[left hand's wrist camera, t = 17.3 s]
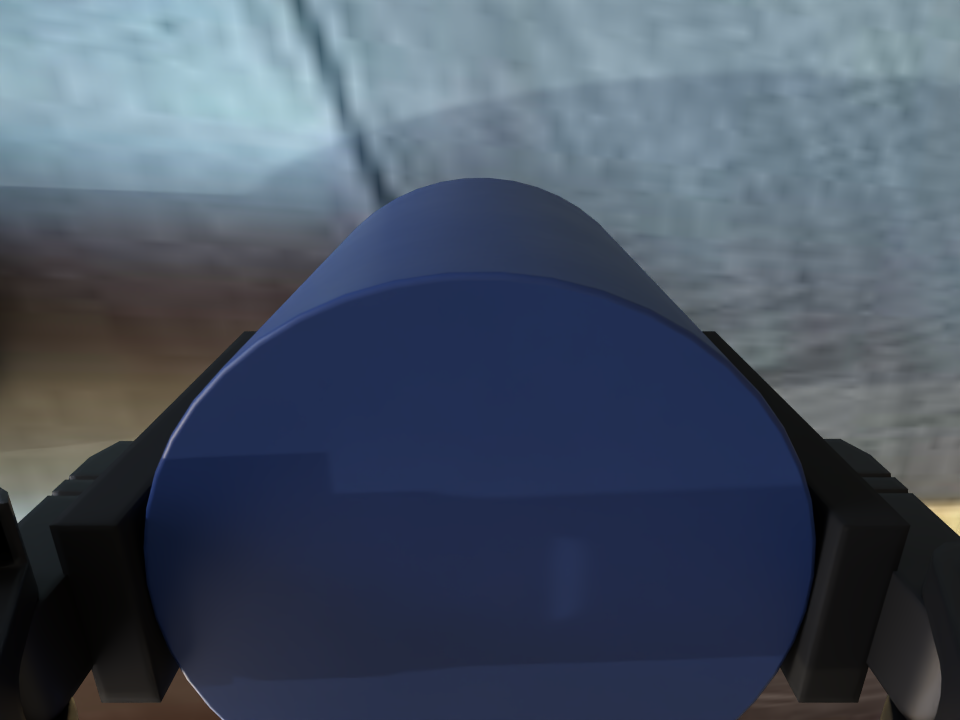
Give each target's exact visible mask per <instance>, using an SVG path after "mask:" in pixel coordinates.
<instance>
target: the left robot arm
mask: <svg viewBox="0 0 960 720" xmlns="http://www.w3.org/2000/svg"><path fill="white" fill-rule="evenodd" d="M702 332H703V333H704V334H705V335H706V337H707V338H708V339H709V340H710V341H711V342H712V343H713V344H714V345H715V346H716V347H717V348H718V349H719V350H720V351H721V352H722V353H723V354H724V355H725V356H726V357H727V359H728V360H729V361H730V362H731V363H732V364H733V365H734V366H735V367H736V368H737V369H738V370H739V371H740V372H741V373H742V374H743V375H744V376H745V377H746V378H747V379H748V381H749V382H750V383H751V384H752V385H753V386H754V387H755V388H756V389H757V390H758V391H759V392H760V393H761V395H762V396H763V398H764V399H765V400H766V402H767V403H768V405H769V406H770V408H771V409H772V411H773V412H774V413H775V415H776V416H777V418H778V419H779V421H780V422H781V423H782V425H783V426H784V428H785V430H786V432H787V434H788V436H789V439H790V441H791V443H792V445H793V447H794V449H795V451H796V453H797V455H798V458H799V460H800V462H801V464H802V468H803V471H804V475H805V478H806V482H807V485H808V489H809V492H810V496H811V499H812V507H813V516H814V525H815V534H816V549H815V567H814V578H813V583H812V587H811V592H810V596H809V601H808V605H807V610H806V613H805V615H804V618H803V620H802V623H801V626H800V628H799V631H798V633H797V636H796V638H795V641H794V643H793V645H792V647H791V649H790V650H789V652H788V654H787V656H786V658H785V659H784V661H783V663H782V665H781V666H780V668H781V670H782V672H783V673H784V675H785V677H786V679H787V681H788V683H789V685H790V687H791V689H792V690H793V692H794V694H795V696H796V698H797V700H798V702H808V703H858V701H859V697H860V694H861V691H862V687H863V684H864V680H865V677H866V674H867V670H868V667H870V669H871V670H872V672H873V673H874V675H875V676H876V678H877V679H878V681H879V682H880V684H881V685H882V686H883V688H884V689H885V691H886V692H887V694H888V696H887V699H886V702H885V705H884V708H883V712H882V715H881V718H880V720H960V536H959V535H958V534H956V533H955V532H954V531H953V530H952V529H951V528H950V527H949V526H948V525H947V524H946V523H944V522H943V521H942V520H941V519H940V518H939V517H938V516H937V515H936V514H935V513H933V512H932V511H931V510H930V509H929V508H928V507H927V506H926V505H925V504H924V503H923V502H921V501H920V500H919V499H918V498H917V497H916V496H915V495H914V494H913V493H908V489H907V488H906V487H905V486H904V485H903V484H902V483H901V482H899V481H898V480H897V479H896V478H895V477H891V473H890V472H889V471H887V470H886V469H885V468H884V467H883V466H882V465H881V464H880V463H879V462H878V461H876V460H875V459H874V458H873V457H872V456H871V455H870V454H868V453H866V452H864V451H862V450H860V449H858V448H856V447H855V446H853V445H851V444H849V443H847V442H845V441H843V440H841V439H823V438H822V437H821V436H820V435H819V434H818V433H817V432H816V431H815V430H814V429H813V428H812V427H811V426H810V425H809V424H808V423H807V422H806V421H805V420H804V419H803V418H802V417H801V416H800V415H799V414H798V413H797V412H796V411H795V410H794V409H793V408H792V407H791V406H790V405H789V404H788V403H787V402H786V401H785V400H784V399H783V398H782V397H781V396H779V395H778V394H777V393H776V392H775V391H774V390H773V389H772V388H771V387H770V386H769V385H768V384H767V383H766V382H765V381H764V380H763V379H762V378H761V377H760V376H759V375H758V374H757V373H756V372H755V371H754V370H753V369H752V368H751V367H750V366H749V365H748V364H747V363H746V362H745V361H744V360H743V359H742V358H741V357H740V356H739V355H738V354H737V353H736V352H735V351H734V350H733V349H732V348H731V347H730V346H729V345H728V344H727V343H726V342H725V341H724V340H723V339H722V338H721V337H720V336H719V335H718V334H717V333H716V332H715V331H702ZM255 333H256V332H244V333H243V334H242V335H241V336H240V337H239V338H238V339H237V340H236V341H235V342H234V343H233V344H231V345H230V346H229V347H228V348H227V349H226V350H225V351H224V352H223V353H222V354H221V355H220V356H219V357H218V358H217V359H216V360H215V361H214V362H213V363H212V364H211V365H210V366H209V367H208V368H207V369H206V370H205V371H204V372H203V373H202V374H201V375H200V376H199V377H198V378H197V379H196V380H195V381H194V382H193V383H192V384H191V385H190V386H189V387H188V388H187V389H186V390H185V391H184V392H183V393H182V394H181V395H180V396H179V397H178V398H177V399H176V400H175V401H174V402H173V403H172V404H171V405H170V406H169V407H168V408H167V409H166V410H165V411H164V412H163V413H162V414H161V415H160V416H159V417H158V418H157V419H156V420H155V421H154V422H153V423H152V424H151V425H150V426H149V427H148V428H147V429H146V430H145V431H144V432H143V433H142V434H141V435H140V436H139V437H138V438H137V439H136V440H135V441H119V442H117V443H115V444H114V445H112V446H110V447H108V448H106V449H104V450H102V451H100V452H99V453H97V454H95V455H93V456H91V457H89V458H88V459H87V460H86V461H85V462H84V463H83V464H82V465H81V466H80V467H79V468H77V469H76V470H75V471H74V472H73V473H72V474H71V475H70V476H69V480H64V481H63V482H62V483H61V484H60V485H59V486H58V487H57V488H56V489H55V490H54V491H52V496H47V497H46V498H45V499H44V500H43V501H42V502H40V503H39V504H38V505H37V506H36V507H35V508H34V509H33V510H32V511H31V512H30V513H29V514H27V515H26V516H25V517H24V518H23V519H22V520H21V521H20V522H19V523H17V520H16V517H15V514H14V511H13V508H12V504H11V501H10V498H9V495H8V492H7V491H5V490H4V489H2V488H0V720H79V719H78V712H77V708H76V705H75V702H74V699H73V695H74V694H75V692H76V691H77V689H78V688H79V686H80V685H81V684H82V682H83V681H84V679H85V678H86V676H87V675H88V673H89V672H90V670H91V669H92V672H93V675H94V679H95V682H96V686H97V689H98V692H99V696H100V699H101V702H102V703H161V701H162V699H163V697H164V695H165V693H166V692H167V690H168V688H169V686H170V684H171V682H172V680H173V678H174V676H175V674H176V673H177V671H178V669H179V665H178V664H177V662H176V660H175V659H174V657H173V656H172V654H171V652H170V651H169V648H168V646H167V644H166V641H165V639H164V637H163V634H162V632H161V630H160V627H159V625H158V623H157V620H156V618H155V614H154V610H153V607H152V603H151V599H150V595H149V591H148V587H147V582H146V571H145V561H144V550H143V546H144V532H145V518H146V507H147V503H148V499H149V495H150V491H151V487H152V483H153V479H154V475H155V471H156V469H157V466H158V464H159V462H160V459H161V457H162V455H163V452H164V450H165V448H166V445H167V443H168V441H169V438H170V436H171V434H172V433H173V431H174V430H175V428H176V427H177V425H178V423H179V422H180V420H181V419H182V417H183V416H184V414H185V412H186V411H187V409H188V408H189V406H190V405H191V403H192V402H193V400H194V399H195V398H196V397H197V396H198V395H199V393H200V392H201V391H202V390H203V389H204V388H205V387H206V386H207V384H208V383H209V382H210V381H211V380H212V379H213V378H214V377H215V375H216V374H217V373H218V372H219V371H220V370H221V369H222V368H223V367H224V366H225V364H226V363H227V362H228V361H229V360H230V359H231V358H232V357H233V356H234V355H235V354H236V353H237V352H238V351H239V350H240V349H241V348H242V347H243V346H244V345H245V344H246V343H247V341H248V340H249V339H250V338H251V337H252V336H253V335H254V334H255Z"/></svg>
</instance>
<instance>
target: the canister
mask: <svg viewBox="0 0 960 720" xmlns="http://www.w3.org/2000/svg"><path fill="white" fill-rule="evenodd" d="M815 549H816V534H815V525H814V516H813V507H812V499H811V496H810V492H809V489H808V485H807V482H806V478H805V475H804V471H803V468H802V464H801V462H800V460H799V458H798V455H797V453H796V451H795V449H794V447H793V445H792V443H791V441H790V439H789V436H788V434H787V432H786V430H785V428H784V426H783V425H782V423H781V422H780V421H779V419H778V418H777V416H776V415H775V413H774V412H773V411H772V409H771V408H770V406H769V405H768V403H767V402H766V400H765V399H764V398H763V396H762V395H761V393H760V392H759V391H758V390H757V389H756V388H755V387H754V386H753V385H752V384H751V383H750V382H749V381H748V379H747V378H746V377H745V376H744V375H743V374H742V373H741V372H740V371H739V370H738V369H737V368H736V367H735V366H734V365H733V364H732V363H731V362H730V361H729V360H728V359H727V357H726V356H725V355H724V354H723V353H722V352H721V351H720V350H719V349H718V348H717V347H716V346H715V345H714V344H713V343H712V342H711V341H710V340H709V339H708V338H707V337H706V335H705V334H704V333H703V332H702V331H701V330H700V329H699V328H698V327H697V326H696V325H695V324H694V323H693V322H692V321H691V320H690V319H689V318H688V317H687V316H686V314H685V313H684V312H683V311H682V310H681V309H680V308H679V307H678V306H677V305H676V304H675V303H674V302H673V301H672V300H671V299H670V298H669V297H668V296H667V295H666V294H665V292H664V291H663V290H662V289H661V288H660V287H659V286H658V285H657V284H656V283H655V282H654V281H653V280H652V279H651V278H650V277H649V276H648V275H647V274H646V273H645V272H644V270H643V269H642V268H641V267H640V266H639V265H638V264H637V263H636V262H635V261H634V260H633V259H632V258H631V257H630V256H629V255H628V254H627V253H626V252H625V251H624V250H623V248H622V247H621V246H620V245H619V244H618V243H617V242H616V241H615V240H614V239H613V238H612V237H611V236H610V235H609V234H608V233H607V232H606V231H605V230H604V229H603V228H602V227H601V225H600V224H599V223H598V222H596V221H595V220H594V219H593V218H591V217H590V216H589V215H587V214H586V213H585V212H584V211H582V210H581V209H580V208H578V207H577V206H575V205H573V204H571V203H570V202H568V201H566V200H565V199H563V198H561V197H560V196H557V195H555V194H552V193H550V192H548V191H545V190H543V189H540V188H538V187H535V186H531V185H527V184H523V183H519V182H516V181H510V180H501V179H493V178H464V179H458V180H451V181H444V182H439V183H436V184H432V185H429V186H426V187H422V188H419V189H416V190H414V191H412V192H409V193H407V194H405V195H403V196H401V197H398V198H396V199H394V200H393V201H391V202H390V203H388V204H386V205H385V206H383V207H382V208H380V209H379V210H377V211H375V212H374V213H373V214H372V215H371V216H369V217H368V218H367V219H366V220H365V221H364V222H362V223H361V224H360V225H359V226H358V227H357V228H356V229H355V230H354V231H353V232H352V233H351V234H350V235H349V236H348V237H347V238H346V239H345V240H344V241H343V242H342V243H341V244H340V245H339V247H338V248H337V249H336V250H335V251H334V252H333V253H332V254H331V255H330V256H329V257H328V258H327V259H326V260H325V261H324V262H323V263H322V264H321V265H320V266H319V267H318V268H317V269H316V271H315V272H314V273H313V274H312V275H311V276H310V277H309V278H308V279H307V280H306V281H305V282H304V283H303V284H302V285H301V286H300V287H299V288H298V289H297V290H296V291H295V292H294V293H293V295H292V296H291V297H290V298H289V299H288V300H287V301H286V302H285V303H284V304H283V305H282V306H281V307H280V308H279V309H278V310H277V311H276V312H275V313H274V314H273V315H272V316H271V317H270V319H269V320H268V321H267V322H266V323H265V324H264V325H263V326H262V327H261V328H260V329H259V330H258V331H257V332H256V333H255V334H254V335H253V336H252V337H251V338H250V339H249V340H248V341H247V343H246V344H245V345H244V346H243V347H242V348H241V349H240V350H239V351H238V352H237V353H236V354H235V355H234V356H233V357H232V358H231V359H230V360H229V361H228V362H227V363H226V364H225V366H224V367H223V368H222V369H221V370H220V371H219V372H218V373H217V374H216V375H215V377H214V378H213V379H212V380H211V381H210V382H209V383H208V384H207V386H206V387H205V388H204V389H203V390H202V391H201V392H200V393H199V395H198V396H197V397H196V398H195V399H194V400H193V402H192V403H191V405H190V406H189V408H188V409H187V411H186V412H185V414H184V416H183V417H182V419H181V420H180V422H179V423H178V425H177V427H176V428H175V430H174V431H173V433H172V434H171V436H170V438H169V441H168V443H167V445H166V448H165V450H164V452H163V455H162V457H161V459H160V462H159V464H158V466H157V469H156V471H155V475H154V479H153V483H152V487H151V491H150V495H149V499H148V503H147V507H146V518H145V532H144V546H143V550H144V561H145V571H146V582H147V587H148V591H149V595H150V599H151V603H152V607H153V610H154V614H155V618H156V620H157V623H158V625H159V627H160V630H161V632H162V634H163V637H164V639H165V641H166V644H167V646H168V648H169V651H170V652H171V654H172V656H173V657H174V659H175V660H176V662H177V664H178V665H179V667H180V669H181V670H182V672H183V674H184V675H185V677H186V679H187V680H188V681H189V683H190V684H191V685H192V686H193V688H194V689H195V690H196V691H197V692H198V694H199V695H200V696H201V697H202V699H203V700H204V701H205V702H206V704H207V705H208V706H209V707H210V708H211V709H212V710H213V711H214V712H215V713H216V714H217V715H218V716H219V717H220V718H221V719H222V720H737V719H738V718H739V717H740V716H741V715H742V714H743V713H744V712H745V711H746V710H747V709H748V708H749V707H750V706H751V705H752V704H753V703H754V702H755V701H756V700H757V698H758V697H759V696H760V694H761V693H762V692H763V691H764V689H765V688H766V687H767V685H768V684H769V683H770V681H771V680H772V679H773V677H774V676H775V675H776V673H777V672H778V670H779V668H780V666H781V665H782V663H783V661H784V659H785V658H786V656H787V654H788V652H789V650H790V649H791V647H792V645H793V643H794V641H795V638H796V636H797V633H798V631H799V628H800V626H801V623H802V620H803V618H804V615H805V613H806V610H807V605H808V601H809V596H810V592H811V587H812V583H813V578H814V567H815Z"/></svg>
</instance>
